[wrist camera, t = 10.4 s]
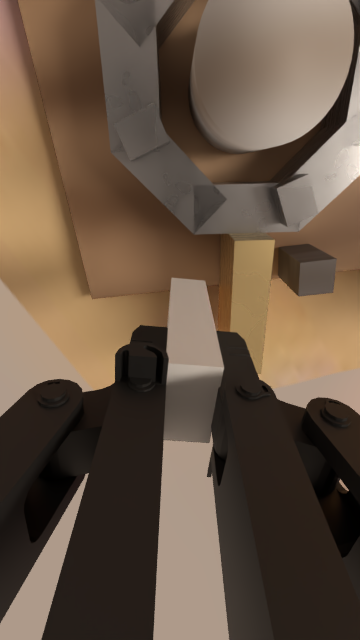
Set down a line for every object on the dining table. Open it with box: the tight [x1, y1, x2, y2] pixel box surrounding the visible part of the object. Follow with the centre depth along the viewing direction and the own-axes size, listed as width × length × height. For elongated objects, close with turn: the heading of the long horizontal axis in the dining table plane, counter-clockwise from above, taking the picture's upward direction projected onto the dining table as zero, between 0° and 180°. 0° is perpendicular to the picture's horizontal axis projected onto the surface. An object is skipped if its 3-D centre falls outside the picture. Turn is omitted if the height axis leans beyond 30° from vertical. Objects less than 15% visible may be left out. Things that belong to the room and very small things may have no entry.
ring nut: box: [95, 0, 360, 374], centre depth 17 cm, size 22×14×5 cm, turn 1°
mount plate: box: [18, 0, 360, 299], centre depth 15 cm, size 22×22×7 cm
